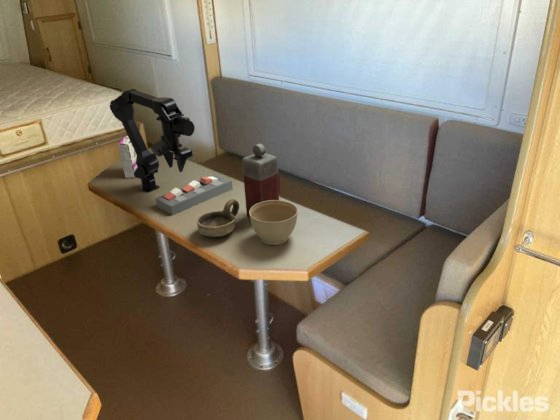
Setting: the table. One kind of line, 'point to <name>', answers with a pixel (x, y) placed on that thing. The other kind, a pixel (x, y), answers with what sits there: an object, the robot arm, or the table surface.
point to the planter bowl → (273, 220)
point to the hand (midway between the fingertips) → (175, 169)
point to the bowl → (219, 220)
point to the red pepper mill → (260, 177)
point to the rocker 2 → (191, 186)
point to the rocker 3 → (208, 180)
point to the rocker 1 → (173, 194)
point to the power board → (195, 195)
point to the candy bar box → (127, 157)
